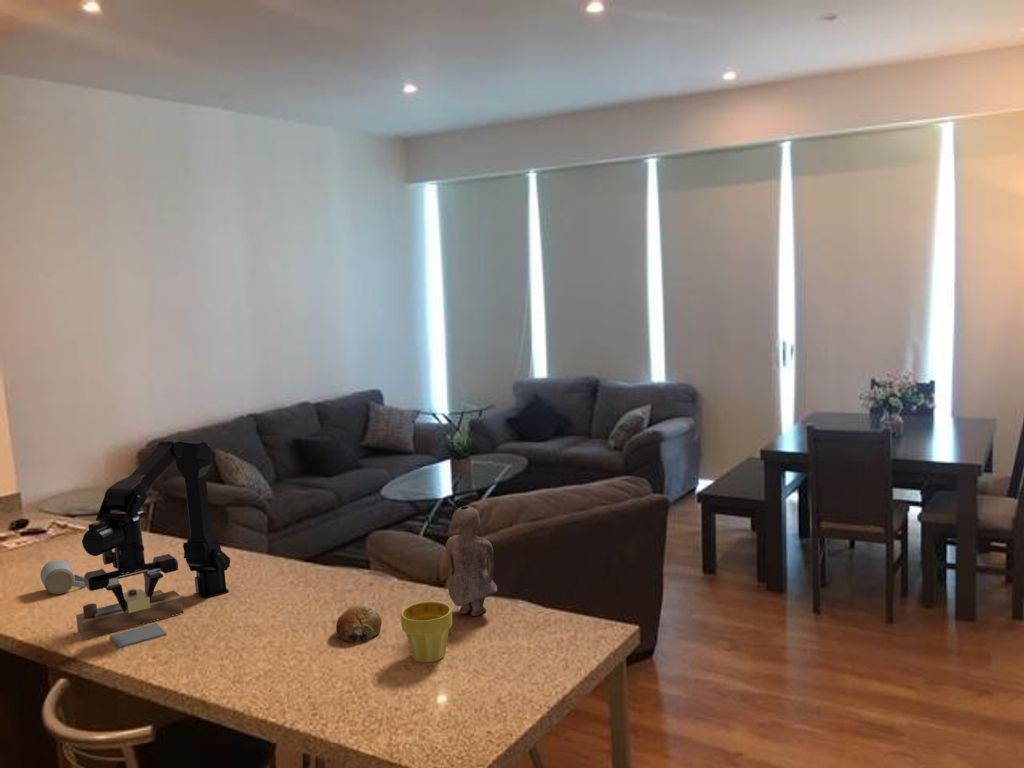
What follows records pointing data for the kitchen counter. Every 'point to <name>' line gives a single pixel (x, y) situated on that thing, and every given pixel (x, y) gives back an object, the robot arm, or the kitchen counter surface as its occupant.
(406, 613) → the plant pot
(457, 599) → the clay figurine
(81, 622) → the plane body
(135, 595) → the lever cap
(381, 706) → the kitchen counter surface
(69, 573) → the ceramic mug
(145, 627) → the mat
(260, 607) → the kitchen counter surface
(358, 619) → the bread roll
